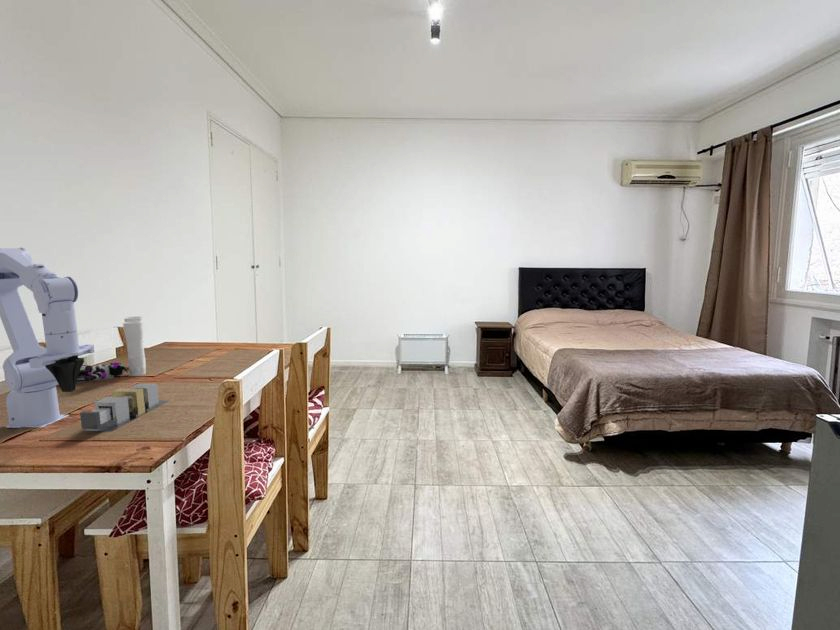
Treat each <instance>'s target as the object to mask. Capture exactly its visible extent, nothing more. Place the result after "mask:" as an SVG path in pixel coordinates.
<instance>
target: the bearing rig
mask: <svg viewBox="0 0 840 630" xmlns="http://www.w3.org/2000/svg"><path fill="white" fill-rule="evenodd" d="M128 388H132V389H143V391H144V395H145V413H144V414H142V415H140V416H138V414H129V407H128V398H127V397H113V396H106V397H103V398H101V399H99V400H96V401H94V410H95V409H97V408H99V407H101V406H112V412H113V419H111V420H109V421H107V422H105V423H103V424H101V428H99V429H83V431H84V432H86V431H88V432H114V431H115V430H117V429H119V428H121V427H123V426H125V425H127V424H129V423H130V422H132V421H134V420H136V419H138V418H139V417H142V416H144V415H146V414H147V413H150V412H151V411H153V410H155V409H157V408H158V407H160V406H163V405H164V404H167V403H168V402H169V400H163V399H162V400H161V399H160V397H159V386H158V383H153V382H152V383H149V382H148V383H144V382H143V383H141V382H139V383H136V384H134V385H132V386H129V387H128ZM159 399H160V400H159Z"/></svg>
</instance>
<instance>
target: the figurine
mask: <svg viewBox="0 0 840 630" xmlns="http://www.w3.org/2000/svg"><path fill="white" fill-rule="evenodd" d="M125 372H126V373H127V374H124V373H125ZM125 377H126V378H128V377H130V374H129V371H127V365H124V364H123V363H121V362H116V361H114V362H110V363H109V364H108V365H105V364H97V365H90V364H89V365H88V364H83V365H82V367H81V369H80V371H79V374H78V378H77V382H76V384H83V383H89V382H90V383H91V382H99V381H103V380H107V381H108V380H111V379H113V378H118V379H120V378H125ZM79 380H81V381H79ZM82 380H84V381H82Z"/></svg>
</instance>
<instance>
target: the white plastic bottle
mask: <svg viewBox="0 0 840 630" xmlns="http://www.w3.org/2000/svg"><path fill="white" fill-rule="evenodd" d="M123 320H124V321H123V323H122V325H123V333H124V337H125V340H126V348H127V349H126V352H127V359H128V373H129V377H140V376H144V375H146V373H147V372H146V371H147V370H146V369H147V364H146V363H147V359H146V354H145V345H144V343H145V342H144V341H145V340H144V338H143V337H144V321H143V316H139V315H137V316H127V317H124V319H123Z"/></svg>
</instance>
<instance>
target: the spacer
mask: <svg viewBox="0 0 840 630" xmlns="http://www.w3.org/2000/svg"><path fill="white" fill-rule="evenodd" d="M111 394H112V396H111V397H124V396H132V401H133V409H131V410H129V414H138V416H140V415H142V414H144V413H145V403H144V393H143V389H132V388H129V387H127V388H124V387H120V388H119V387H118V388H116V389H114V390H112V391H111ZM144 415H145V414H144ZM142 416H143V415H142ZM140 417H141V416H140Z"/></svg>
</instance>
